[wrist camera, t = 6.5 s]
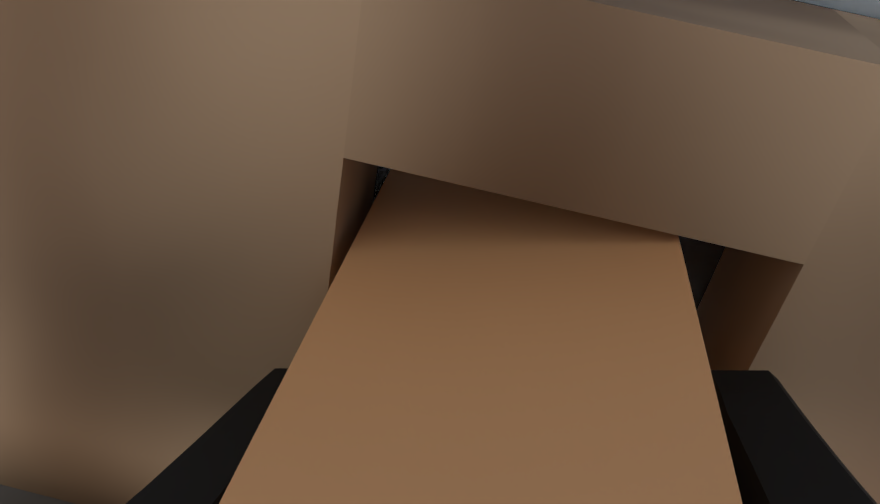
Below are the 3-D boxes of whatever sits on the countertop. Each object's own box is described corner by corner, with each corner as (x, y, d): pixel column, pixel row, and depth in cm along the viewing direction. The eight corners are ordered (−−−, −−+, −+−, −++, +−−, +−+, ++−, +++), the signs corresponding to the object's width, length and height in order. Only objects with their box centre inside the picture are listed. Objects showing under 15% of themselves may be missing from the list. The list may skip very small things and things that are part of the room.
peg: (658, 151, 11) (758, 562, 5) (653, 367, 13) (719, 848, 7) (392, 165, 12) (202, 536, 6) (426, 367, 14) (309, 798, 8)
